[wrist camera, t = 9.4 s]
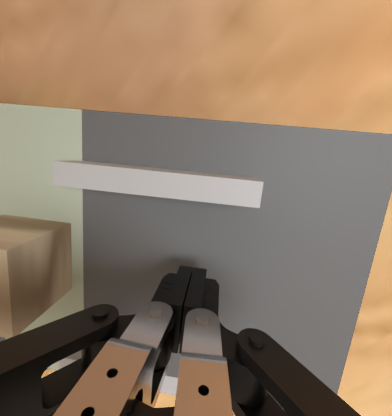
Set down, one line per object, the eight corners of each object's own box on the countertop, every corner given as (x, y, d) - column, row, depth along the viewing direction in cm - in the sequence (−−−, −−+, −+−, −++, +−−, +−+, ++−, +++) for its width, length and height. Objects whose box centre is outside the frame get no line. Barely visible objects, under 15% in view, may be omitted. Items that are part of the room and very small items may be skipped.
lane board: (-72, 105, 18) (-227, 77, 12) (360, 141, 16) (455, 128, 9) (-44, 309, 22) (-150, 370, 16) (308, 367, 19) (350, 468, 13)
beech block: (4, 214, 15) (-86, 237, 11) (71, 223, 15) (6, 250, 10) (9, 278, 16) (-72, 323, 12) (72, 288, 16) (13, 339, 11)
